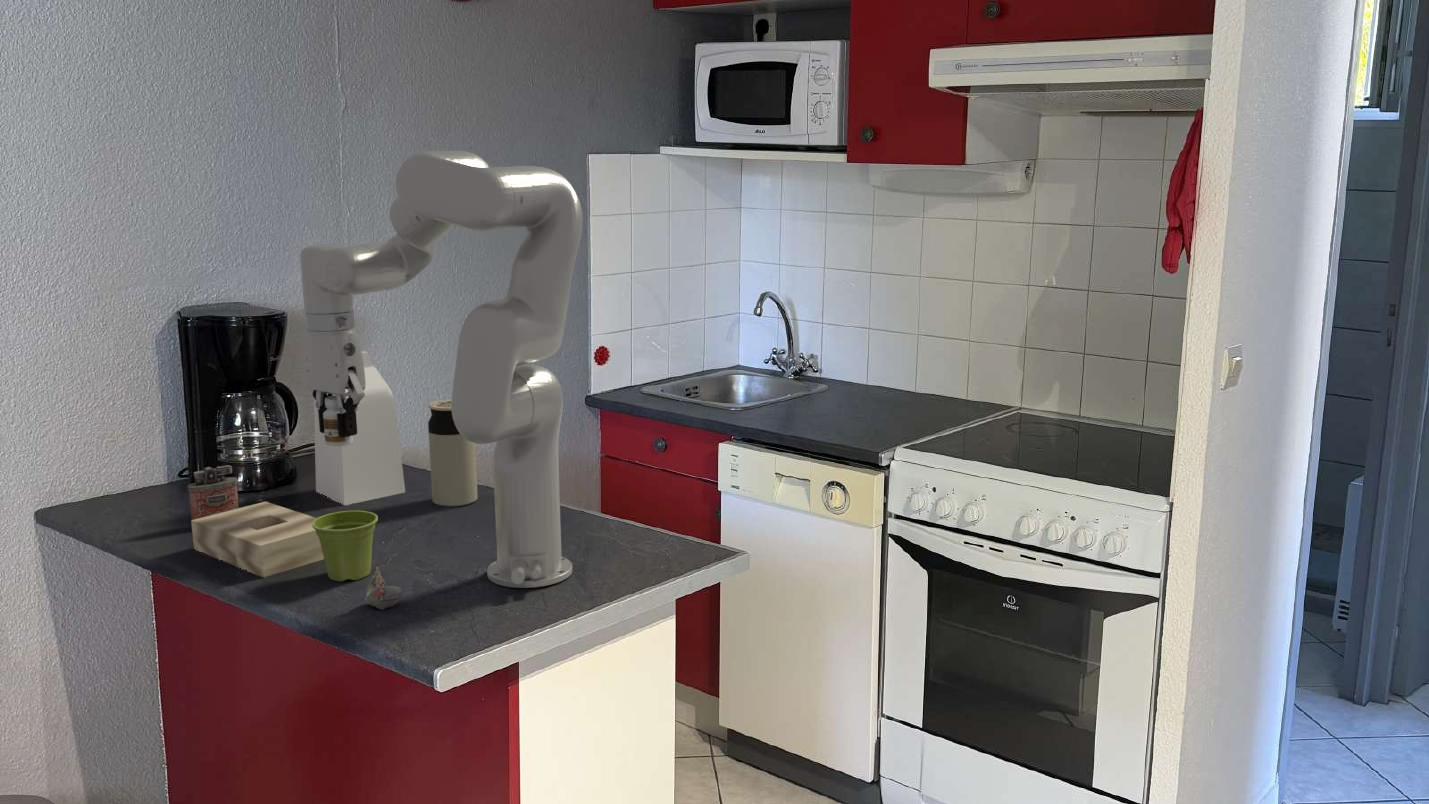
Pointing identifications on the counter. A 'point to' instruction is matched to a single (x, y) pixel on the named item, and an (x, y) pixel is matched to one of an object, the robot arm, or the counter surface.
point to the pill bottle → (333, 424)
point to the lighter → (213, 492)
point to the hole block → (259, 538)
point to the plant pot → (346, 543)
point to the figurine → (382, 593)
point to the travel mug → (450, 459)
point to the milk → (363, 449)
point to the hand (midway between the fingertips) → (338, 432)
